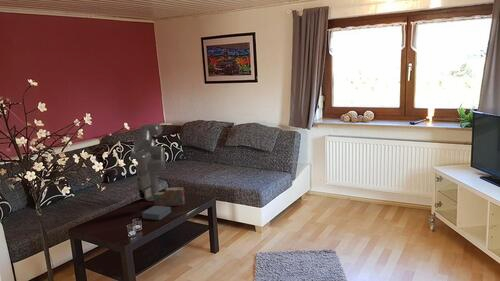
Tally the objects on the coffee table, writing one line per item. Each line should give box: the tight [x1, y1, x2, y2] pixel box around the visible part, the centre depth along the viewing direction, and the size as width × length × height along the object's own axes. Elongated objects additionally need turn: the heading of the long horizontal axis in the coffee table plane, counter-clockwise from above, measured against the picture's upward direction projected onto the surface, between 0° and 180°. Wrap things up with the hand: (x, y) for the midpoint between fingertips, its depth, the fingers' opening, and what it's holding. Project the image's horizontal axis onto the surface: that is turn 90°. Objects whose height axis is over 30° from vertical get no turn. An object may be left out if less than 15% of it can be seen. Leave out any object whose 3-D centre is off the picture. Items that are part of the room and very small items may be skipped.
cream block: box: [138, 188, 152, 199], centre depth 272 cm, size 6×6×6 cm
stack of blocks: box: [154, 186, 186, 207], centre depth 282 cm, size 21×6×12 cm, turn 86°
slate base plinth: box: [141, 205, 172, 221], centre depth 263 cm, size 14×14×4 cm
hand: (145, 195), depth 272 cm, fingers closed on cream block, 6 cm apart
